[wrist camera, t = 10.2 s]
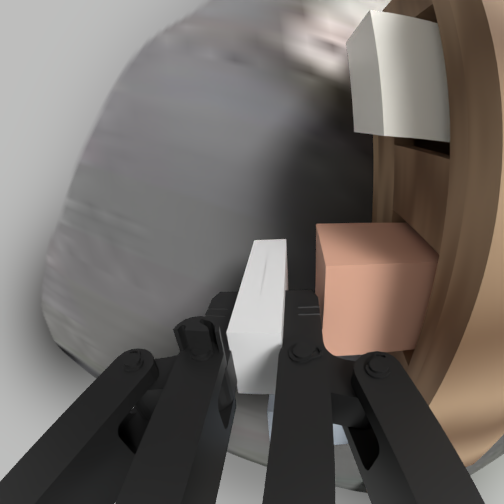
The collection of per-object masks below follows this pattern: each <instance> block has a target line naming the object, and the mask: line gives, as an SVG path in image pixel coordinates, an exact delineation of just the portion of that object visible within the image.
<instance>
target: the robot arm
mask: <svg viewBox="0 0 504 504" xmlns="http://www.w3.org/2000/svg"><path fill="white" fill-rule="evenodd" d="M173 330H174V333H175V337H176V340H177V343H178V346H179V349H180V353H179V355H177V356H172V357H167V358H160V359H154V357H153V356H152V354H151V353H150V352H149V351H147V350H145V349H131V350H129V351H126V352H124V353H122V354H121V355H120V356H119V357H117V358H116V359H115V360H114V361H113V362H112V363H111V365H110V366H109V367H108V368H107V369H106V370H105V371H104V372H103V373H102V374H101V375H100V376H99V377H98V378H97V379H96V380H95V381H94V382H93V383H92V384H91V385H90V386H89V387H88V388H87V389H86V390H85V391H84V392H83V393H82V394H81V395H80V396H79V397H78V398H77V400H76V401H75V402H74V403H73V404H72V405H71V406H70V407H69V408H68V409H67V410H66V411H65V412H64V413H63V414H62V415H61V417H59V418H58V420H57V421H56V422H55V423H54V424H53V425H52V426H51V427H50V428H49V429H48V430H47V431H46V432H45V433H44V434H43V436H42V437H41V438H40V439H39V440H38V441H37V442H36V443H35V444H34V445H33V446H32V447H31V448H30V449H29V451H28V452H27V453H26V454H25V455H24V456H23V457H22V458H21V459H20V460H19V461H18V463H17V464H16V465H15V466H14V467H13V468H12V469H11V470H10V471H9V473H8V474H7V475H6V476H5V477H4V478H3V479H2V480H1V481H0V504H114V503H115V502H116V504H215V503H216V498H217V493H218V489H219V485H220V480H221V475H222V470H223V466H224V462H225V457H226V452H227V447H228V443H229V438H230V433H231V428H232V424H233V419H234V414H235V409H236V400H235V396H234V395H235V390H236V386H237V388H238V393H245V394H275V400H274V410H273V420H272V429H271V439H270V448H269V456H268V465H267V473H266V481H265V489H264V496H263V503H262V504H335V461H334V437H333V424H337V425H341V426H342V428H343V430H344V433H345V435H346V438H347V440H348V443H349V445H350V448H351V451H352V453H353V456H354V458H355V461H356V464H357V466H358V469H359V471H360V474H361V477H362V479H363V482H364V485H365V487H366V490H367V493H368V495H369V498H370V500H371V503H372V504H485V503H484V501H483V499H482V498H481V495H480V493H479V492H478V490H477V488H476V486H475V484H474V482H473V480H472V479H471V477H470V475H469V473H468V471H467V469H466V468H465V466H464V464H463V462H462V460H461V459H460V457H459V455H458V453H457V452H456V450H455V448H454V447H453V445H452V443H451V442H450V440H449V438H448V437H447V435H446V433H445V432H444V430H443V428H442V427H441V425H440V423H439V422H438V420H437V419H436V417H435V415H434V414H433V412H432V411H431V409H430V407H429V406H428V404H427V403H426V401H425V400H424V398H423V396H422V395H421V393H420V392H419V390H418V389H417V387H416V386H415V384H414V383H413V381H412V380H411V378H410V377H409V375H408V374H407V372H406V371H405V369H404V368H403V366H402V365H401V363H400V362H399V361H398V360H397V359H396V358H395V357H394V356H392V355H390V354H388V353H386V352H379V351H374V352H368V353H366V354H363V355H361V356H360V357H359V358H358V359H357V360H356V361H351V360H346V359H342V358H338V357H336V356H334V355H332V354H331V353H330V352H329V351H328V350H327V349H326V348H325V346H324V342H323V334H322V325H321V316H320V308H319V300H318V296H317V295H316V294H315V293H314V292H313V291H312V290H288V266H287V245H286V239H276V240H254V243H253V246H252V250H251V253H250V256H249V260H248V263H247V266H246V269H245V273H244V276H243V279H242V283H241V286H240V289H239V292H220V293H219V294H218V295H216V296H215V297H214V298H213V299H212V301H211V303H210V305H209V309H208V310H207V312H206V316H205V317H203V316H200V317H192V318H189V319H186V320H184V321H182V322H180V323H179V324H178V325H177V326H176V327H175V328H174V329H173ZM133 407H134V408H133ZM132 408H133V409H132Z"/></svg>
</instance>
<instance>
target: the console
mask: <svg viewBox="0 0 504 504" xmlns="http://www.w3.org/2000/svg"><path fill="white" fill-rule="evenodd" d="M382 12H388V13H394V14H399V15H404V16H409V17H414V18H419V19H423V20H427V21H431V22H435V23H438V27H439V32H440V37H441V42H442V48H443V54H444V60H445V67H446V76H447V85H448V96H449V113H450V142H444V141H436V140H427V139H417V138H406V137H392V136H381V135H374V134H373V208H372V223H408V224H409V225H410V226H411V227H412V228H413V229H414V230H415V231H416V232H417V233H418V234H419V235H420V236H421V237H422V238H423V239H424V240H425V241H426V242H427V243H428V244H429V245H430V246H431V247H432V248H433V249H434V250H435V251H436V252H437V253H438V254H439V260H438V265H437V270H436V274H435V279H434V283H433V288H432V292H431V296H430V300H429V303H428V307H427V311H426V314H425V318H424V321H423V325H422V328H421V331H420V334H419V337H418V341H417V344H416V347H415V349H411V350H403V351H394V352H386V353H388V354H390V355H392V356H394V357H395V358H396V359H397V360H398V361H399V362H400V363H401V365H402V366H403V368H404V369H405V371H406V372H407V374H408V375H409V377H410V378H411V380H412V381H413V383H414V384H415V386H416V387H417V389H418V390H419V392H420V393H421V395H422V396H423V398H424V400H425V401H426V403H427V404H428V406H429V407H430V409H431V411H432V412H433V414H434V415H435V417H436V419H437V420H438V422H439V423H440V425H441V427H442V428H443V430H444V432H445V433H446V435H447V437H448V438H449V440H450V442H451V443H452V445H453V447H454V448H455V450H456V452H457V453H458V455H459V457H460V459H461V460H462V462H463V464H464V466H465V467H467V466H470V465H472V464H474V463H475V462H476V461H477V460H478V459H479V458H481V457H482V456H483V455H484V454H485V453H486V452H487V451H488V450H489V449H490V448H491V447H492V446H493V445H494V444H495V443H496V442H497V441H498V439H499V438H500V437H501V436H502V435H503V434H504V0H392V1H391V2H390V3H389V4H388V5H387V6H386V7H385V8H384V10H383V11H382ZM366 492H367V490H366Z"/></svg>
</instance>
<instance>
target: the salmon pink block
mask: <svg viewBox="0 0 504 504" xmlns="http://www.w3.org/2000/svg"><path fill="white" fill-rule="evenodd" d="M438 260H439V254H438V253H437V252H436V251H435V250H434V249H433V248H432V247H431V246H430V245H429V244H428V243H427V242H426V241H425V240H424V239H423V238H422V237H421V236H420V235H419V234H418V233H417V232H416V231H415V230H414V229H413V228H412V227H411V226H410V225H409V224H408V223H327V224H316V282H315V294H316V295H317V296H318V300H319V308H320V316H321V325H322V334H323V342H324V346H325V348H326V349H327V350H328V351H329V352H330V353H331V354H332V355H334V356H346V355H361V354H366V353H368V352H374V351H379V352H394V351H403V350H411V349H415V347H416V344H417V341H418V337H419V334H420V331H421V328H422V325H423V321H424V318H425V314H426V311H427V307H428V303H429V300H430V296H431V292H432V288H433V283H434V279H435V274H436V270H437V265H438Z"/></svg>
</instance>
